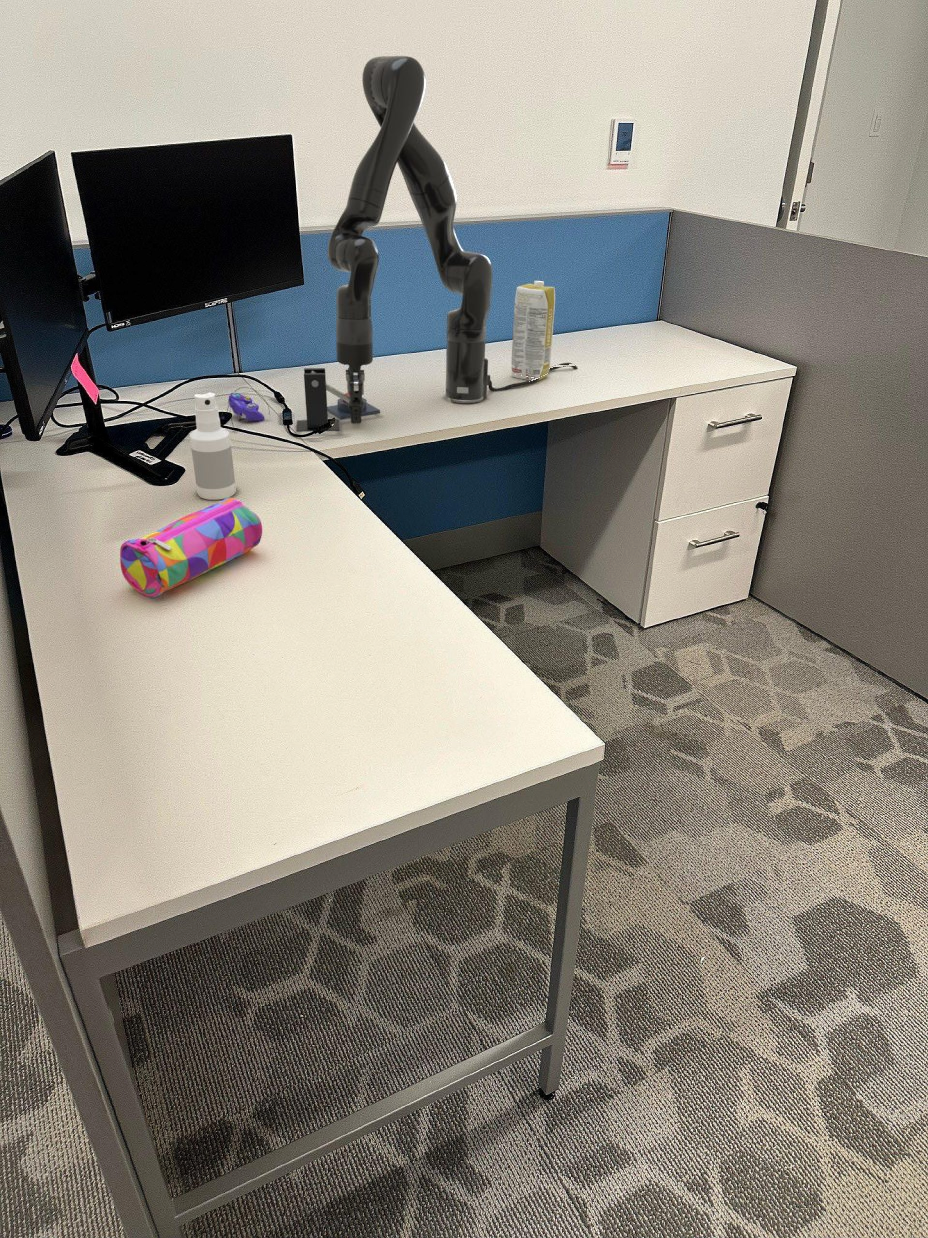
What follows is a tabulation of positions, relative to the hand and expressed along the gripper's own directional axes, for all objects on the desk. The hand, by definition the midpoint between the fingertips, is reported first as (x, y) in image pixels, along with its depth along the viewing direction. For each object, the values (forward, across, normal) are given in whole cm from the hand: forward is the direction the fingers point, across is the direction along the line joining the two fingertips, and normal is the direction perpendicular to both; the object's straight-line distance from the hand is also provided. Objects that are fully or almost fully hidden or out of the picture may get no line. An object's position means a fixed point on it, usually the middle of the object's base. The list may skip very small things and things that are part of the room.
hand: (355, 419), depth 188 cm
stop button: (-1, +10, 0) cm, 10 cm away
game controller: (+3, +5, +25) cm, 26 cm away
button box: (+2, +10, 0) cm, 10 cm away
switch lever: (-5, 0, +5) cm, 7 cm away
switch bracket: (+2, 0, +8) cm, 9 cm away
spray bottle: (+3, -34, +26) cm, 43 cm away
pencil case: (+3, -65, +26) cm, 70 cm away
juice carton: (+1, +40, -47) cm, 62 cm away
